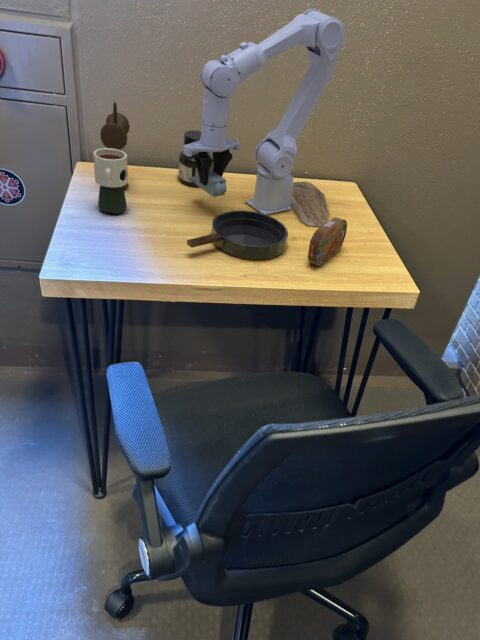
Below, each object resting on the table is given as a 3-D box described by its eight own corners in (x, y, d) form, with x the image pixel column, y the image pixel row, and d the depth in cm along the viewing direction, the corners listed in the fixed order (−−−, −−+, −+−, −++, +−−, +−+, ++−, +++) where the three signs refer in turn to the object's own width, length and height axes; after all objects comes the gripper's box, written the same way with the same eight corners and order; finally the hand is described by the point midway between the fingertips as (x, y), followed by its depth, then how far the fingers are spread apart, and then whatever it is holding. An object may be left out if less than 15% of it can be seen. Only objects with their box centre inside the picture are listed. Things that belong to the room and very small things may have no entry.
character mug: (125, 222, 119) (124, 165, 111) (92, 218, 118) (88, 161, 110) (131, 201, 127) (130, 147, 119) (100, 198, 126) (97, 143, 118)
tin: (314, 271, 116) (322, 237, 111) (302, 266, 117) (309, 231, 112) (343, 248, 126) (352, 215, 121) (331, 243, 127) (340, 211, 122)
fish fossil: (339, 227, 135) (340, 223, 134) (300, 228, 133) (301, 224, 132) (313, 183, 153) (314, 180, 152) (279, 184, 151) (279, 180, 150)
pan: (254, 218, 131) (256, 205, 129) (300, 251, 122) (303, 237, 120) (196, 231, 121) (197, 217, 119) (241, 267, 112) (243, 253, 110)
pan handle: (217, 236, 116) (218, 232, 115) (222, 240, 115) (222, 236, 114) (186, 244, 111) (186, 239, 111) (191, 248, 110) (191, 243, 110)
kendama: (103, 193, 128) (98, 106, 115) (107, 177, 135) (103, 93, 122) (128, 196, 129) (126, 110, 116) (131, 180, 136) (130, 97, 123)
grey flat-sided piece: (188, 180, 129) (189, 164, 126) (201, 178, 131) (202, 162, 128) (216, 200, 123) (217, 184, 120) (229, 197, 125) (231, 182, 122)
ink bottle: (176, 172, 145) (178, 127, 137) (208, 174, 147) (211, 129, 140) (180, 187, 138) (182, 140, 130) (213, 189, 140) (217, 143, 133)
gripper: (230, 115, 123) (224, 172, 132) (176, 119, 115) (174, 179, 124) (248, 125, 119) (241, 183, 128) (194, 130, 111) (191, 192, 120)
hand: (210, 182), depth 126 cm, fingers closed on grey flat-sided piece, 3 cm apart
